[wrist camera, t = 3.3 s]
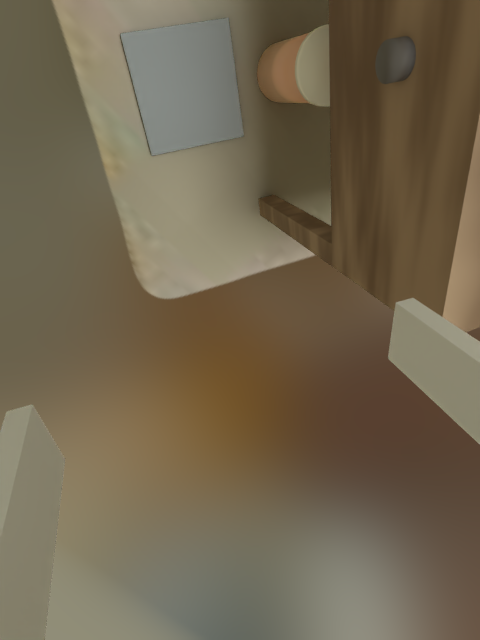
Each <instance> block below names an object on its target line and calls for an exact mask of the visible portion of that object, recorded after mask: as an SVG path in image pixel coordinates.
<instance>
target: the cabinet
mask: <svg viewBox="0 0 480 640" xmlns="http://www.w3.org/2000/svg"><path fill="white" fill-rule="evenodd" d="M329 67H330V147H331V226H330V225H328V224H327V223H325V222H323V221H321V220H319V219H317V218H316V217H314V216H312V215H310V214H308V213H306V212H305V211H303V210H301V209H299V208H297V207H295V206H294V205H292V204H290V203H288V202H286V201H284V200H283V199H281V198H279V197H277V196H275V195H271V196H267V197H263V198H259V207H260V215H261V216H263V217H264V218H265V219H267V220H268V221H269V222H271V223H272V224H274V225H275V226H276V227H278V228H279V229H281V230H282V231H283V232H285V233H286V234H288V235H289V236H290V237H292V238H293V239H295V240H296V241H297V242H299V243H300V244H302V245H303V246H304V247H306V248H307V249H308V250H310V251H311V252H313V253H314V254H315V255H317V256H318V257H320V258H321V259H322V260H324V261H325V262H327V263H328V264H329V265H331V266H332V267H334V268H335V269H337V270H338V271H339V272H341V273H342V274H343V275H345V276H346V277H348V278H349V279H351V280H352V281H353V282H354V283H356V284H357V285H359V286H360V287H362V288H363V289H364V290H366V291H367V292H369V293H370V294H371V295H373V296H374V297H375V298H377V299H378V300H380V301H381V302H382V303H384V304H385V305H387V306H388V307H389V308H391V309H392V310H394V311H395V304H396V302H399V301H403V300H407V299H410V298H414V299H416V300H417V301H419V302H420V303H422V304H423V305H425V306H426V307H428V308H429V309H431V310H432V311H434V312H435V313H437V314H438V315H440V316H441V317H443V318H444V319H446V320H447V321H449V322H450V323H452V324H453V325H455V326H457V327H458V328H460V329H461V330H463V331H464V332H468V331H471V330H473V329H476V328H479V327H480V0H329Z"/></svg>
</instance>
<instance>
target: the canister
mask: <svg viewBox="0 0 480 640" xmlns="http://www.w3.org/2000/svg"><path fill="white" fill-rule="evenodd" d="M257 80H258V84H259V87H260V89H261V91H262V93H263V94H264V95H265V96H266V97H267V98H268V99H269V100H271V101H273V102H282V103H311V104H313V105H316V106H326V107H327V106H330V67H329V24H326V25H323V26H320V27H318V28H316V29H314V30H313V31H312V32H310V33H307V34H304V35H300V36H297V37H294V38H290V39H287V40H284V41H280V42H277V43H274V44H272V45H270V46H269V47H268V48H267V49H266V50H265V51H264V52H263V54H262V56H261V57H260V60H259V63H258V67H257Z"/></svg>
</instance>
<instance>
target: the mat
mask: <svg viewBox="0 0 480 640" xmlns="http://www.w3.org/2000/svg"><path fill="white" fill-rule="evenodd" d="M120 37H121V40H122V44H123V48H124V52H125V56H126V60H127V63H128V67H129V71H130V75H131V79H132V83H133V86H134V90H135V94H136V98H137V102H138V106H139V109H140V113H141V117H142V121H143V125H144V129H145V132H146V136H147V140H148V144H149V148H150V152H151V155H152V156H154V155H158V154H163V153H168V152H173V151H177V150H182V149H187V148H191V147H196V146H201V145H205V144H210V143H215V142H220V141H224V140H229V139H234V138H238V137H243V136H244V133H243V125H242V118H241V110H240V102H239V94H238V87H237V79H236V71H235V63H234V56H233V48H232V40H231V32H230V25H229V18H222V19H216V20H209V21H202V22H195V23H189V24H182V25H175V26H168V27H162V28H155V29H148V30H141V31H135V32H128V33H121V34H120Z"/></svg>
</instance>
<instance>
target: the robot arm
mask: <svg viewBox="0 0 480 640" xmlns="http://www.w3.org/2000/svg"><path fill="white" fill-rule="evenodd" d="M388 359H389V360H390V361H391V362H392V363H393V364H395V365H396V366H397V367H398V368H399V369H400V370H401V371H402V372H403V373H404V374H405V375H406V376H407V377H408V378H410V379H411V380H412V381H413V382H414V383H415V384H416V385H417V386H418V387H419V388H420V389H421V390H422V391H423V392H424V393H426V394H427V395H428V396H429V397H430V398H431V399H432V400H433V401H434V402H435V403H436V404H437V405H438V406H439V407H440V408H441V409H443V410H444V411H445V412H446V413H447V414H448V415H449V416H450V417H451V418H452V419H453V420H454V421H456V423H458V424H459V425H460V426H461V427H462V428H463V429H464V430H465V431H466V432H467V433H468V434H469V435H470V436H471V437H473V439H475V440H476V441H477V442H478V443H479V444H480V342H479V341H478V340H476V339H475V338H473V337H472V336H470V335H468V334H467V333H466V332H464V331H463V330H461V329H460V328H458V327H457V326H455V325H453V324H452V323H450V322H449V321H447V320H446V319H444V318H443V317H441V316H440V315H438V314H437V313H435V312H434V311H432V310H431V309H429V308H428V307H426V306H425V305H423V304H422V303H420V302H419V301H417V300H416V299H414V298H410V299H407V300H403V301H399V302H396V304H395V312H394V319H393V326H392V334H391V341H390V348H389V356H388ZM64 464H65V458H64V456H63V455H62V453H61V451H60V450H59V448H58V447H57V445H56V443H55V441H54V440H53V438H52V436H51V434H50V433H49V431H48V429H47V428H46V427H45V424H44V423H43V421H42V419H41V418H40V416H39V414H38V413H37V411H36V409H35V407H34V406H33V405H28V406H25V407H21V408H18V409H15V410H11V411H7V412H6V415H5V418H4V422H3V425H2V428H1V431H0V640H45V633H46V624H47V615H48V605H49V597H50V588H51V579H52V570H53V562H54V553H55V544H56V535H57V526H58V518H59V509H60V500H61V491H62V481H63V473H64Z"/></svg>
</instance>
